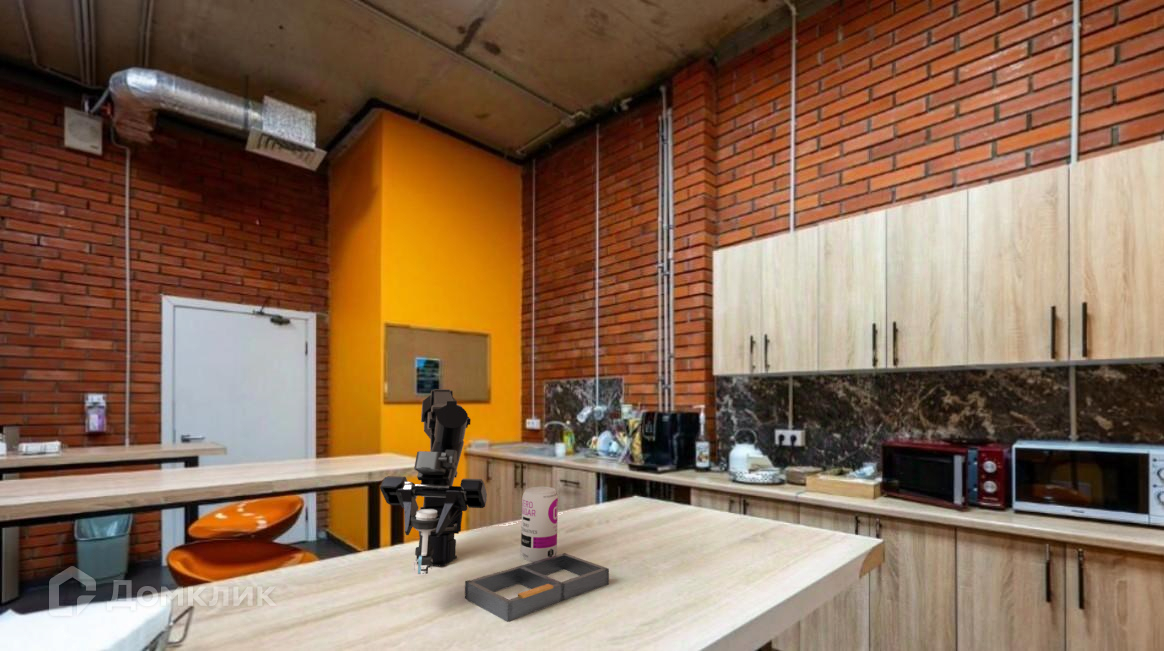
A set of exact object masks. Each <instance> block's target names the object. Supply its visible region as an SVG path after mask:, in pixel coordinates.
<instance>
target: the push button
mask: <svg viewBox="0 0 1164 651" xmlns="http://www.w3.org/2000/svg"><path fill="white" fill-rule="evenodd" d="M440 516H441V515H438V514H437V510H434V509H421V510H420V509H418V511H417V514H416V515H414V516H412V517H411V521H412V529H413V528H414V529H415V530H416V531H418V532H419V531H421V534H420V536H419V541H418V546H416V547H415V549H414V550H415V553H414V555H415V556H416V558H415V559H414V563H417V562H418V564H417V566H418V567H417V575H421V576H426V574H429V568H430V569H431V570H432V569H433V566H431V561H432V559H431V555H433V547H431V534H430V532H431V531H432V530H435V529H436V528H437V525H438V522H439V519H440ZM413 570H414V571H415V570H416V564H414V568H413Z"/></svg>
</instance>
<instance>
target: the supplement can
mask: <svg viewBox="0 0 1164 651" xmlns="http://www.w3.org/2000/svg"><path fill="white" fill-rule="evenodd" d="M558 505H559V496H558V494H557V491H556V488H554V487H552V486H533V487H532V486H531V487H526V488H525V489H524V492H523V494H522V496H521V529H520V530H521V533H520V534H521V536H520V556H521V557H522V558H523V559H524V560H526V561H528V562H535V561H538V560H542V559H545V558H549V557H552V556H556V555H558V515H559V514H558V509H559V508H558V507H559V506H558Z"/></svg>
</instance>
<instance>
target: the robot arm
mask: <svg viewBox="0 0 1164 651" xmlns="http://www.w3.org/2000/svg"><path fill="white" fill-rule="evenodd" d="M453 394H454V393H453V390H451V389H447V388H446V389H444V388H443V389H441V388H440V389H438V388H435V389H431V391H430V395H429V396H428V397H426V398H425V399H423V400H422V404H421V414H420V416H421V417H420V422H421V423H423V431H424V433H425V435H426V436H428V438H429V440H430V441H429V442H430V446H429V448H430V451H426V450H425V451H422V450H419V451H416V456H415V457H416V458H415V462H414V466H413V470H414V471H417V476H416V478H417V480H418V481H420V484H419V483H418V484H415V483H414V482H412V481H408V479H407V477H406V476H401V475H400V476H398V475H395V476H394V475H387V476H385V477H384V478H383V479H382V480H381V483H380V485H379V489H380V491H381V494H382V495H383V498H384V500H385V503H386V504H388V505H390V506H401V508H402V509H403V512H404V534H405V535H406V536H409V535H410V533H411V531H412V529H413V527H412V521H411V517H412V516H414V515H416V514H417V511H418V510H421V509H434V510H437V514H438V515H441V516H440V519H439V522H438V525H437V528H436V529H435V530H432V531H431V532H430V534H431V547H433V555H431V559H432V561H431V566H432V567H441V568H442V567H445V566H447V565H449V564H450V563H451V562H453V561H454V560H457V558H458V556H457V555H456V553H457V551H456V549H457V539H455V534H457V535H458V534H459V533H460V532H461V531H462V519H463V514H464V513H463V512H467V511H468V508H470V509H483V508H485V507H486V504H487V497H488V493H487V490H486V486H485V482H484V481H483V479H482V478H462V479H461V480H460V485H454V481H455V479H456V478H458V470H457V469H458V466H459V462H460V458H461V455H462V452H463V447H464V443H465V441H464V439H465V435H466V429H468V428H469V427H468V426H470V425H471V418H470V417H469V414H468V412H467V411H466V410H465V409H464V408H463V406H461V405H460V404H458V402H457V400H456V398H455V397H454V395H453ZM418 497H422V498H423V497H424V498H423V504H422V506H420V508H419V505H418V503H417V498H418ZM420 534H421V531H418V536H419V537H420ZM416 564H417V565H418V562H416Z"/></svg>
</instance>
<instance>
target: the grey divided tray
mask: <svg viewBox="0 0 1164 651" xmlns="http://www.w3.org/2000/svg"><path fill="white" fill-rule="evenodd" d="M561 571H566V572H568V573H572V574H574V575H577V576H575V577H573V578H570V579H566V580H563V581H559V580H556V579H554V578H553V577H549V576H548V575H552V574H554V573H557V572H558V573H559V572H561ZM609 577H610V568H608V567H606V566H602V565H599V564H598V563H594V562H591V561H588V560H585V559H582V558H580V557H577V556H575V555H573V554H568V553H565V552H562V553H560V554H557V555H556V556H552V557H549V558H545V559H542V560H538V561H535V562H532V561H530V562H527V563H524V564H521V565H518V566H514V567H512V568H511V567H510V568H507V569H505V570H504V569H503V570H501V571H497V572H494V573H490V574H486V575H483V576H479V577H475V578H473V579H470V580H465V582H464V599H465V600H467V601H468V602H471V603H472V604H474V605H476V606H478V607H479V608H482V609H483V610H484V611H487V612H489V613H491V614H492V615H495V617H498V618H499V619H502V620H504V622H505V621H506V622H511V621H513V620H516V619H518V618H521V617H524V616H526V615H529V614H532V613H535V612H537V611H540V610H543V609H545V608H549V607H550V606H551V607H552V606H554V605H557V604H559V603H561V602H564V601H565V602H566V601H567V600H570V599H572V598H576V597H578V596H581V595H583V594H587V593H589V592H592V591H595V590H597V589H600V588H602V587H605V586H608V585H609V584H610V583H609V580H610V578H609ZM517 585H522V586H524V587H527V589H528V588H529V589H528V590H525V591H521V592H518V593H517V596H516V597H512V598H510V599H508V598H506V597H505V596H503V595H501V594H499V593H497V592H498V591H500V590H504V589H508V588H510V587H514V586H517Z"/></svg>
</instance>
